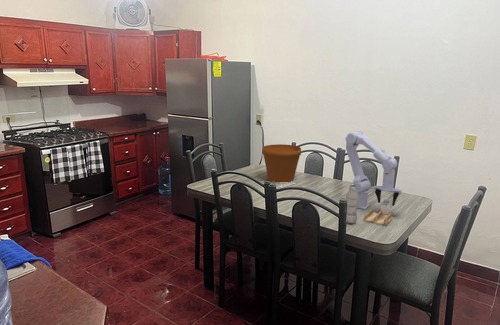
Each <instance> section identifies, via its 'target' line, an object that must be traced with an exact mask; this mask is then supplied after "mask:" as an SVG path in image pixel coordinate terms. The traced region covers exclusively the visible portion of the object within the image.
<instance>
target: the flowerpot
mask: <svg viewBox="0 0 500 325" xmlns="http://www.w3.org/2000/svg"><path fill="white" fill-rule="evenodd" d="M261 148H262V151H261V152H262V155H263V160H264V164H265V165H264V166H265V169H266V174H267V179H268V181H269V180H271V181H270V182H272V181H275V182H274V183H276V182H288V183H291V181H292V182H293V181H294V179H295V174H296V172H297V167H298V164H299V160H300V156H302V147H300V146H298V145H293V144H292V145H291V144H279V143H278V144H268V145H264V146H262V147H261Z"/></svg>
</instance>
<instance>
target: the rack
mask: <svg viewBox="0 0 500 325" xmlns="http://www.w3.org/2000/svg"><path fill="white" fill-rule="evenodd" d="M392 215H393V214H392V212H389V213H388V215H383V214H382V211H381V210H379V212H378V213H377V212H374V209H373V208H371V209H369V211H368V212H366V214H364V218H363V219H362V221H363V222H365V223H369V224H370V223H371V224H374V225H379V226H383V227H387V226H388V225H389V224H390V222H391V221H392V219H393V216H392Z"/></svg>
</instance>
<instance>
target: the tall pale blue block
mask: <svg viewBox="0 0 500 325" xmlns="http://www.w3.org/2000/svg"><path fill="white" fill-rule="evenodd" d="M380 207H381V209H380V211H382V214H383V215H387V216H388V214H389V213H390V211H391V210H390V208H391V200H390V199H384V200H383V201H382V202H381V206H380Z"/></svg>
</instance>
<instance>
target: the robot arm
mask: <svg viewBox="0 0 500 325" xmlns="http://www.w3.org/2000/svg"><path fill="white" fill-rule="evenodd" d="M345 142H346V143H345V150H346V153H347V157H348V160H349V164H350V166H351V168H352V172H353V176H354V178H353V180H352V182H353V183H352V185H355V186H357V190H356V191H357V193H358V195H359V198H358V202H357V209H363V210H366V209H368V207H369V206H370V204H368V199H369V198H368V197H369V190H370V189H371V188H372V183H371V181H370V180H369V178H368V176H366V175H365V172H364V170H363V167H362V164H361V160H360V156H359V154H358V151H357V148H358V147H359V145H363V146H364V147H365V148H366V149H368V150H369V151H370V152H372V154H373V157H374V158H375V159H376V160H377V161H378V162H379V163H380V164H381V167H382V169H383V173H382V174H383V175H382V176H383V177H382V185H374V186H373V190H375V191H374V193H375V195H376V198H377V204H380V203H381V200H382V199H381V197H382V196H381V195H382V192H388V193H392V204H391V205H392V206H393V207H394V206H395V203H396V201H397V199H398V197H399V195H402V194H403V192H402V191H403V190H402V189H399V188H395V187H394V183H395V175H396V174H395V173H396V168H397V167H398V164H399V163H398V160H397V159H396V158H395V157H391V156H390V155H389V154H387V153H386V152H385V149H382V148H378V147H377V146H376V145H375V144H374V143H373V142H372V141H371V140H370V139H369V138H368V136H367V135H366V134H365V133H364V132H363V131H361V130H360V131H355V132H350V133H348V134H347V135H346V137H345Z"/></svg>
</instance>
